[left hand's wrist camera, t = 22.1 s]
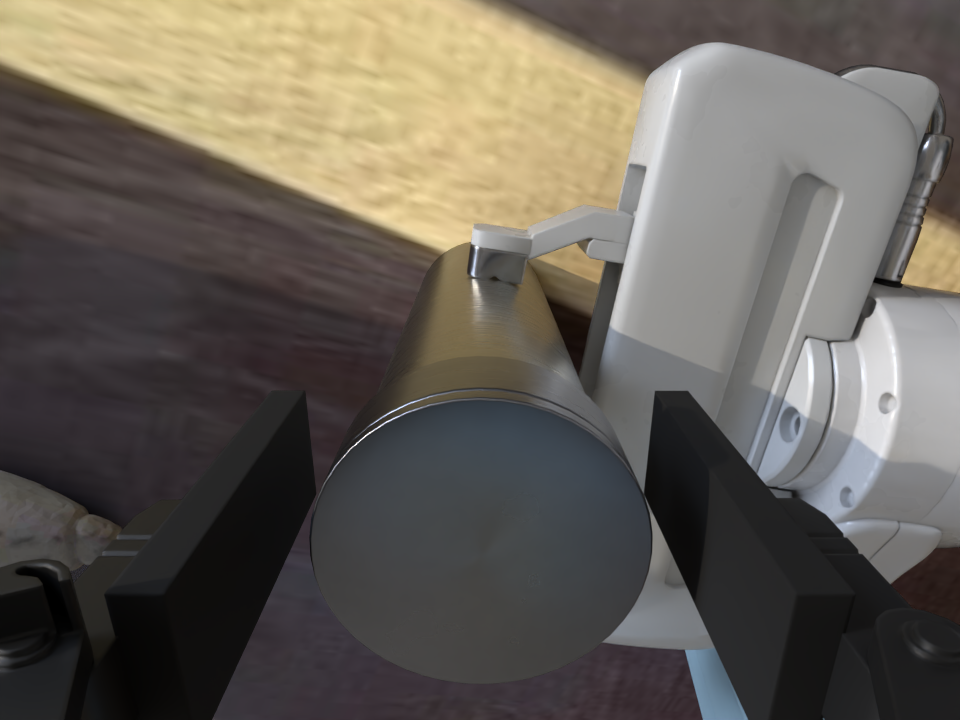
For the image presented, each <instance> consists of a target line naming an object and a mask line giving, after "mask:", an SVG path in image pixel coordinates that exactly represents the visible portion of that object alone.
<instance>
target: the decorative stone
mask: <svg viewBox="0 0 960 720" xmlns="http://www.w3.org/2000/svg"><path fill="white" fill-rule="evenodd" d="M122 530H123V529H122V528H121V527H120V526H118V525H116V524H114V523H112V522H111V521H109V520H107V519H104V518H102V517H99V516H96V515H91V514H89V513H88V511H87V510H86V508H85V507H84V506H82V505H80V504H78V503H76V502H75V501H73V500H71V499H69V498H67V497H65V496H63V495H61V494H59V493H58V492H55V491H52V490H50V489H48V488H46V487H45V486H43V485H41V484H38V483H36V482H34V481H31V480H28V479H25V478H22V477H20V476H17V475H14V474H11V473H8V472H5V471H1V470H0V567H3V566H7V565H10V564H13V563H17V562H20V561H27V560H35V559H50V560H57V561H60V562H62V563H63V564H64V565H66V566H67V567H69V569H70V571H73V570H76V569H78V568H80V567H81V566H82V565H84V564H85V565H91V563H92V562H93V561H94V560H95V559H96V558H97V557H98V556H102V551H103V550H104V549H105V548H106V547H107V546H108V545H109V544H110V543H111V542H112V541H113V540H116V539H117V535H118V534H119V533H120V532H121V531H122Z"/></svg>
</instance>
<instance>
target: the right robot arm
mask: <svg viewBox="0 0 960 720" xmlns="http://www.w3.org/2000/svg"><path fill="white" fill-rule="evenodd" d="M928 123H929V128H928V133H925V131H926V129H927V126H928ZM945 125H946V111H945V105H944V101H943V99H942V96H941V94H940V93H939V88H938V86H937V85H936V84H935V83H934V82H933V81H931V80H930V79H928V78H926V77H924V76H921V75H919V74H917V73H915V72H909V71H904V70H898V69H893V68H887V67H881V66H876V65H856V66H851V67H848V68H845V69H843V70H840V71H838V72H836V73H834V74H832V73H829V72H827V71H824V70H821V69H818V68H815V67H813V66H810V65H807V64H804V63H801V62H798V61H795V60H792V59H788V58H785V57H781V56H778V55H775V54H771V53H768V52H764V51H760V50H756V49H752V48H747V47H743V46H738V45H734V44H728V43H721V42H714V43H705V44H700V45H697V46H694V47H691V48H689V49H687V50H685V51H683V52H681V53H679V54H678V55H676V56H675V57H673V58H672V59H670V60H669V61H667V62H666V63H664V64H663V65H662V66H660V67H659V68H657V69H656V70H655V71H653V72H652V73H651V75H650V76H649V77H648V79H647V81H646V84H645V87H644V91H643V95H642V100H641V104H640V108H639V113H638V117H637V122H636V126H635V130H634V135H633V139H632V144H631V148H630V152H629V157H628V161H627V165H626V170H625V174H624V179H623V183H622V187H621V192H620V196H619V201H618V205H617V209H616V210H615V209H608V208H602V207H595V206H589V205H581V206H579V207H576V208H574V209H571V210H569V211H566V212H564V213H561V214H559V215H556V216H554V217H551V218H549V219H546V220H544V221H541V222H539V223H536V224H534V225H531V226H529V227H528V230H522V229H515V228H509V227H503V226H496V225H490V224H474V225H473V232H472V239H471V245H470V252H469V259H468V266H467V274H468V275H469V276H473V277H476V278H487V279H489V278H491V277H493V276H496V277H497V278H498V279H499V280H500V281H505V282H508V283H514V284H520V285H522V284H523V279H524V274H525V269H526V264H527V259H529V260H530V259H533V258H536V257H538V256H541V255H544V254H547V253H549V252H552V251H555V250H558V249H560V248H563V247H566V246H569V245H571V244H574V243H577V244H578V246H579V247H580V248H581V249H582V250H583V251H584V252H585V254H586V255H587V256H588V257H589V258H592V259H598V260H604V261H605V262H604V266H603V271H602V275H601V279H600V284H599V288H598V293H597V297H596V301H595V306H594V310H593V315H592V319H591V323H590V328H589V332H588V337H587V341H586V345H585V350H584V354H583V358H582V363H581V367H580V372H579V376H578V378H579V380H580V382H581V385H582V387H583V390H584V392H585V394H586V395H587V396H588V397H590V399H591V400H592V401H593V402H594V403H595V404H596V405H597V406H598V407H599V408H600V409H601V411H602V412H603V413H604V415H605V416H606V418H607V419H608V421H609V422H610V424H611V425H612V427H613V429H614V431H615V433H616V435H617V437H618V439H619V441H620V444H621V446H622V448H623V450H624V452H625V454H626V457H627V459H628V461H629V463H630V465H631V468H632V470H633V472H634V474H635V476H636V478H637V481H638V483H639V485H640V487H641V489H642V491H643V494H644V486H645V477H646V468H647V459H648V449H649V440H650V431H651V422H652V412H653V403H654V394H655V391H689V393H690V394H691V395H692V396H693V397H694V399H695V400H696V401H697V402H698V403H699V405H700V406H701V407H702V408H703V409H704V411H705V412H706V413H707V414H708V415H709V417H710V418H711V419H712V420H713V422H714V423H715V424H716V425H717V426H718V428H719V429H720V430H721V431H722V432H723V434H724V435H725V436H726V437H727V438H728V440H729V441H730V442H731V443H732V444H733V446H734V447H735V448H736V449H737V451H738V452H739V453H740V454H741V455H742V457H743V458H744V459H745V460H746V461H747V463H748V464H749V465H750V466H751V467H752V469H753V470H754V471H755V472H756V474H757V475H758V476H759V477H760V478H761V480H762V481H763V482H764V483H765V484H766V486H767V487H768V488H769V489H770V490H771V492H772V493H773V494H774V495H775V496H776V498H800V499H802V500H804V501H805V502H807V503H808V504H810V505H812V506H813V507H815V508H816V509H818V510H820V511H821V512H823V513H824V514H826V515H827V516H828V517H829V518H830V519H831V521H832V522H833V523H834V524H835V525H836V526H837V527H838V528H839V529H840V530H841V531H842V532H843V534H844V537H847V538H848V539H849V540H850V541H851V542H852V543H853V544H854V545H855V547H856V548H857V549H858V552H859V554H863V555H864V556H865V557H866V558H867V560H868V561H869V562H870V563H871V564H872V565H873V566H874V567H875V568H876V569H877V570H878V571H879V573H880V574H881V575H882V576H883V577H884V578H885V579H886V580H887V581H888V582H889V583H890V584H891V583H893V582H894V581H895V580H896V579H897V578H899V577H900V576H901V575H902V574H904V573H905V572H907V571H908V570H909V569H911V568H912V567H913V566H915V565H916V564H918V563H919V562H921V561H922V560H923V559H925V558H926V557H927V556H928V555H929V554H930V553H931V552H932V551H933V550H934V549H935V548H953V547H960V293H956V292H949V291H943V290H937V289H931V288H924V287H918V286H912V285H906V284H901V280H902V278H903V275H904V273H905V270H906V268H907V265H908V263H909V260H910V258H911V255H912V253H913V250H914V248H915V245H916V243H917V240H918V237H919V234H920V231H921V228H922V227H921V225H922V224H923V220H924V218H923V216H924V215H925V213H926V210H927V209H926V208H925V207H927V206H928V203H929V201H930V200H929V198H930V197H931V196H932V193H933V191H934V188H935V186H936V184H937V183H939V182H940V181H941V179H942V177H943V175H944V173H945V171H946V169H947V166H948V163H949V160H950V157H951V152H952V148H953V141H954V139H953V138H952V137H950V136H946V135H944V132H945ZM644 496H645V495H644ZM645 499H646V498H645ZM646 502H647V500H646ZM647 506H648V509H649V512H650V517H651V524H652V532H653V544H652V557H651V562H650V568H649V572H648V575H647V578H646V581H645V584H644V587H643V590H642V592H641V593H640V595H639V597H638V599H637V601H636V603H635V605H634V607H633V608H632V610H631V611H630V612H629V614H628V615H627V617H626V618H625V619H624V621H623V622H622V623H621V624H620V625H619V626H618V627H617V629H616V630H615V631H614V632H613V633H612V634H611V635H610V636H609V637H608V638H606V639H605V640H604V641H603V643H610V644H618V645H627V646H636V647H648V648H661V649H678V650H703V649H712V648H715V647H714V645H713V643H712V640H711V638H710V636H709V634H708V632H707V630H706V628H705V625H704V623H703V621H702V619H701V617H700V615H699V612H698V610H697V608H696V606H695V604H694V602H693V599H692V597H691V595H690V593H689V591H688V589H687V586H686V584H685V582H684V580H683V578H682V576H681V573H680V571H679V569H678V567H677V565H676V563H675V560H674V558H673V556H672V554H671V552H670V550H669V547H668V545H667V543H666V541H665V539H664V537H663V534H662V532H661V530H660V528H659V526H658V524H657V521H656V519H655V517H654V515H653V513H652V511H651V508H650V506H649V504H648V502H647Z"/></svg>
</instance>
